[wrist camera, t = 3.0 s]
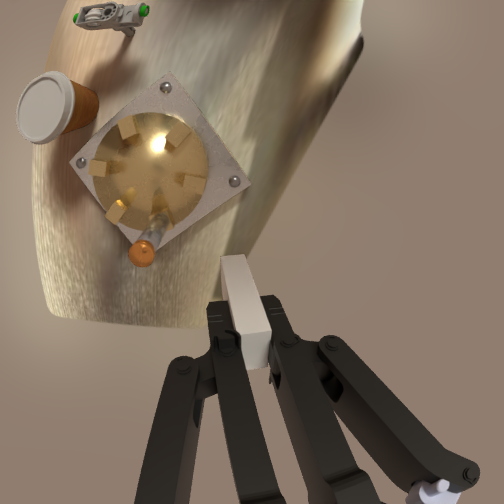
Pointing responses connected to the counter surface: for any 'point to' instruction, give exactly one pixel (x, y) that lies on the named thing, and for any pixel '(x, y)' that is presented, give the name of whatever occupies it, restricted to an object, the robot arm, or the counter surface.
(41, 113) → the disposable coffee cup
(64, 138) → the counter surface
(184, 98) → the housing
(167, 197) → the brass turntable plate
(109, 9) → the mechanical component
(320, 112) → the counter surface
